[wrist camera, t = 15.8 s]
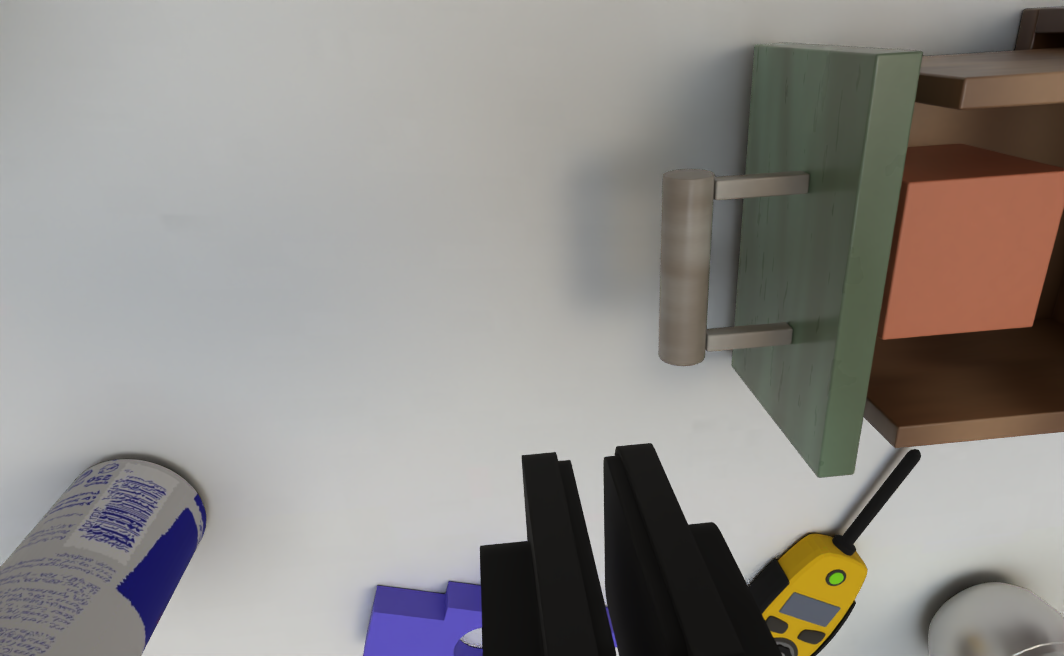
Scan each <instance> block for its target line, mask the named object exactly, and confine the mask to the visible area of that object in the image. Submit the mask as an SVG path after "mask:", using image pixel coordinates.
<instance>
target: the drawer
mask: <svg viewBox="0 0 1064 656" xmlns="http://www.w3.org/2000/svg"><path fill="white" fill-rule="evenodd" d="M961 143H962V144H966V145H970V146H974V147H978V148H983V149H987V150H991V151H995V152H999V153H1003V154H1007V155H1011V156H1016V157H1020V158H1024V159H1028V160H1032V161H1036V162H1040V163H1044V164H1048V165H1053V166H1057V167H1061V168H1064V47H1061V48H1045V49H1029V50H1014V51H998V52H983V53H967V54H951V55H936V56H923V52H922V51H917V50H900V49H884V48H867V47H850V46H834V45H817V44H801V43H773V44H757V45H755V47H754V59H753V73H752V87H751V101H750V115H749V129H748V143H747V157H746V171H745V175H733V176H719V177H715V175H714V173H713V172H711V171H707V170H701V169H678V170H672V171H668V172H665V173H664V174H663V179H662V222H661V265H660V308H659V351H658V355H659V357H660V359H661V360H662V361H664V362H666V363H668V364H672V365H677V366H690V365H695V364H698V363H700V362H702V361H703V360H704V358H705V349H706V350H707V351H709V352H710V351H721V350H733V352H732V367H733V369H734V370H735V371H736V372H737V374H738V375H739V376H740V378H741V379H742V380H743V381H744V383H745V384H746V385H747V387H748V388H749V389H750V391H751V392H752V393H753V394H754V396H755V397H756V398H757V400H758V401H759V402H760V403H761V405H762V406H763V407H764V409H765V410H766V411H767V413H768V414H769V415H770V416H771V418H772V419H773V420H774V422H775V423H776V424H777V425H778V427H779V428H780V429H781V431H782V432H783V433H784V434H785V436H786V437H787V438H788V440H789V441H790V442H791V444H792V445H793V446H794V447H795V449H796V450H797V451H798V453H799V454H800V455H801V456H802V458H803V459H804V460H805V462H806V463H807V464H808V466H809V467H810V468H811V469H812V471H813V472H814V473H815V475H816V476H817V477H819V478H822V477H832V476H842V475H852V474H854V470H855V464H856V458H857V452H858V446H859V440H860V434H861V428H862V422H863V417H864V418H865V419H866V420H867V421H868V422H869V423H870V424H871V425H872V426H873V427H874V428H875V429H876V430H877V431H878V432H879V433H880V434H881V435H882V436H883V437H884V438H885V439H886V440H887V441H888V442H889V443H890V444H891V445H892V446H893V447H895V448H902V447H912V446H923V445H933V444H943V443H953V442H964V441H974V440H984V439H994V438H1005V437H1015V436H1025V435H1036V434H1046V433H1056V432H1064V209H1063V213H1062V216H1061V220H1060V224H1059V228H1058V232H1057V235H1056V239H1055V243H1054V247H1053V250H1052V254H1051V258H1050V262H1049V266H1048V269H1047V273H1046V277H1045V281H1044V285H1043V288H1042V292H1041V296H1040V300H1039V304H1038V307H1037V311H1036V315H1035V319H1034V322H1033V326H1032V327H1023V328H1012V329H1000V330H989V331H978V332H966V333H955V334H943V335H932V336H921V337H909V338H898V339H886V340H883V339H881V338H879V337H878V336H877V330H878V324H879V318H880V312H881V306H882V300H883V294H884V288H885V282H886V275H887V269H888V263H889V257H890V251H891V245H892V239H893V233H894V227H895V221H896V215H897V208H898V202H899V196H900V190H901V184H902V178H903V172H904V166H905V160H906V154H907V148H908V147H919V146H933V145H947V144H961ZM741 198H744V199H743V213H742V227H741V241H740V255H739V269H738V283H737V297H736V311H735V325H734V327H723V328H712V329H706V327H707V309H708V290H709V271H710V253H711V234H712V216H713V199H715V200H728V199H741Z"/></svg>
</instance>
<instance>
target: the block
mask: <svg viewBox="0 0 1064 656" xmlns="http://www.w3.org/2000/svg"><path fill="white" fill-rule="evenodd" d="M1063 209H1064V168H1061V167H1057V166H1053V165H1048V164H1044V163H1040V162H1036V161H1032V160H1028V159H1024V158H1020V157H1016V156H1011V155H1007V154H1003V153H999V152H995V151H991V150H987V149H983V148H978V147H974V146H970V145H966V144H962V143H961V144H947V145H933V146H919V147H908V148H907V154H906V160H905V166H904V172H903V178H902V184H901V190H900V196H899V202H898V208H897V215H896V221H895V227H894V233H893V239H892V245H891V251H890V257H889V263H888V269H887V275H886V282H885V288H884V294H883V300H882V306H881V312H880V318H879V324H878V330H877V336H878V337H879V338H881V339H883V340H886V339H898V338H909V337H921V336H932V335H943V334H955V333H966V332H978V331H989V330H1000V329H1012V328H1023V327H1032V326H1033V322H1034V319H1035V315H1036V311H1037V307H1038V304H1039V300H1040V296H1041V292H1042V288H1043V285H1044V281H1045V277H1046V273H1047V269H1048V266H1049V262H1050V258H1051V254H1052V250H1053V247H1054V243H1055V239H1056V235H1057V232H1058V228H1059V224H1060V220H1061V216H1062V213H1063Z"/></svg>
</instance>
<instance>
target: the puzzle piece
mask: <svg viewBox="0 0 1064 656" xmlns="http://www.w3.org/2000/svg"><path fill="white" fill-rule="evenodd" d="M606 611H607V616H608V620H609V624H610V628H611V632H612V637H613V641H614V646H615V647H617V644H616V639H615V635H614V631H613V627H612V623H611V619H610V615H609V610H608V607H606ZM477 628H482V609H481V586H480V585H472V584H465V583H457V582H450V581H449V582H448V586H447V589H446V593H445V594H440V593H432V592H425V591H417V590H409V589H401V588H394V587H386V586H378V585H377V590H376V594H375V599H374V603H373V608H372V612H371V617H370V621H369V626H368V630H367V635H366V641H365V647H364V653H363V656H483V649H478V648H474V647H470V646H468V645H466V644H464V643H463V642H462V641H461V640H460V638H461V637H462V636H463V635H465V634H466V633H468V632H470V631H472V630H474V629H477Z"/></svg>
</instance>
